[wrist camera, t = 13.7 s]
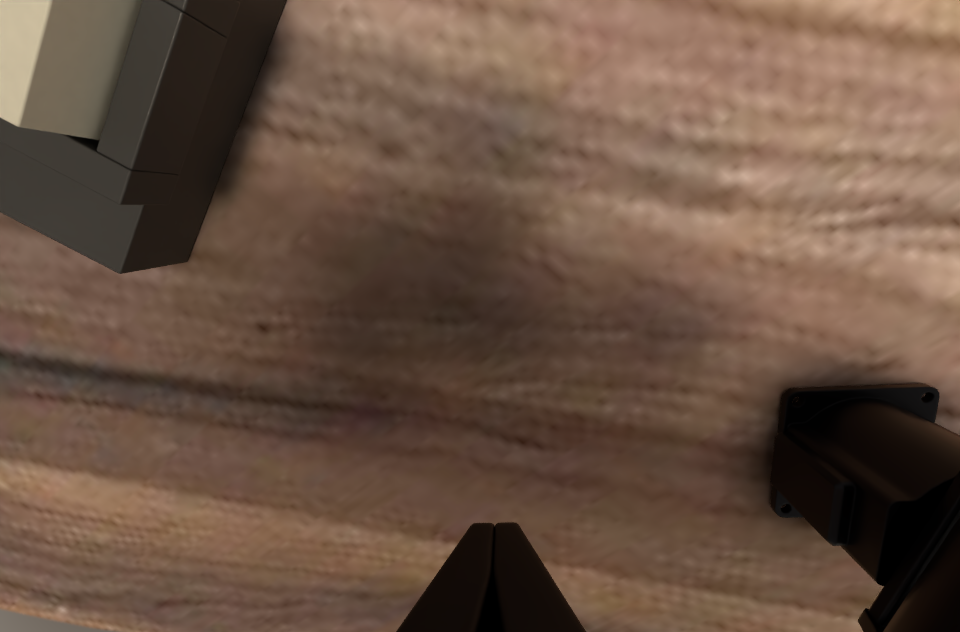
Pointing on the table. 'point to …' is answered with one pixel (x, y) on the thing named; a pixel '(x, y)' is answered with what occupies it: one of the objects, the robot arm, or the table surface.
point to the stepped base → (145, 138)
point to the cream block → (62, 62)
